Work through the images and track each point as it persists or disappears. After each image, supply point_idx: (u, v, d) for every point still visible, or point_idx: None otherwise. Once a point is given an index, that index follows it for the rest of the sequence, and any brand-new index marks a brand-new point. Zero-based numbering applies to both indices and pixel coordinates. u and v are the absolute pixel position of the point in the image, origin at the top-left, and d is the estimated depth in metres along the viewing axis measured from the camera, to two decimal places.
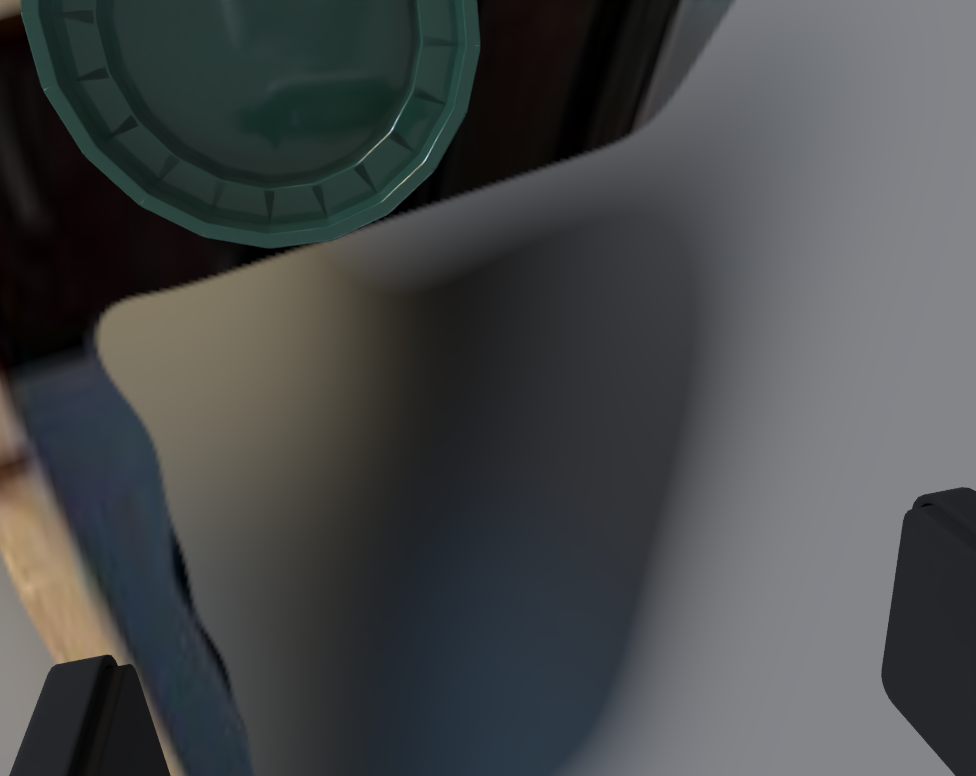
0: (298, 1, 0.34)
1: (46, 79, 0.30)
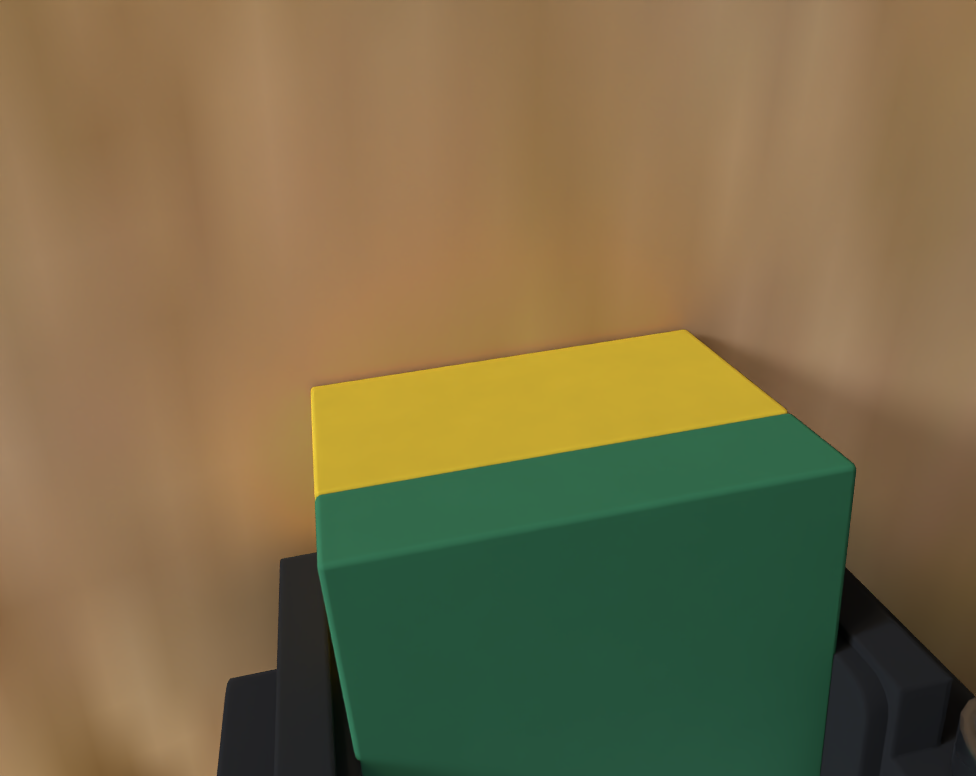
0: None
1: None
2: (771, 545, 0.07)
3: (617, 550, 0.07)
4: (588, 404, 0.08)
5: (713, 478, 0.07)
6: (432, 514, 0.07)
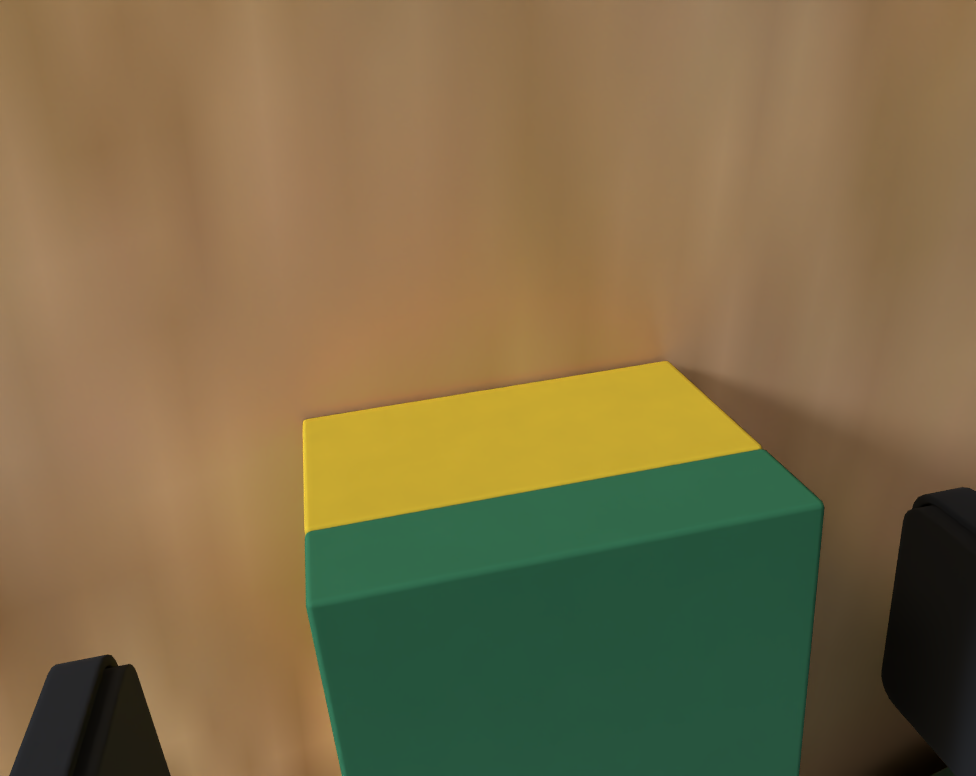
0: None
1: None
2: (744, 580, 0.07)
3: (594, 586, 0.07)
4: (570, 439, 0.09)
5: (686, 515, 0.07)
6: (416, 552, 0.07)
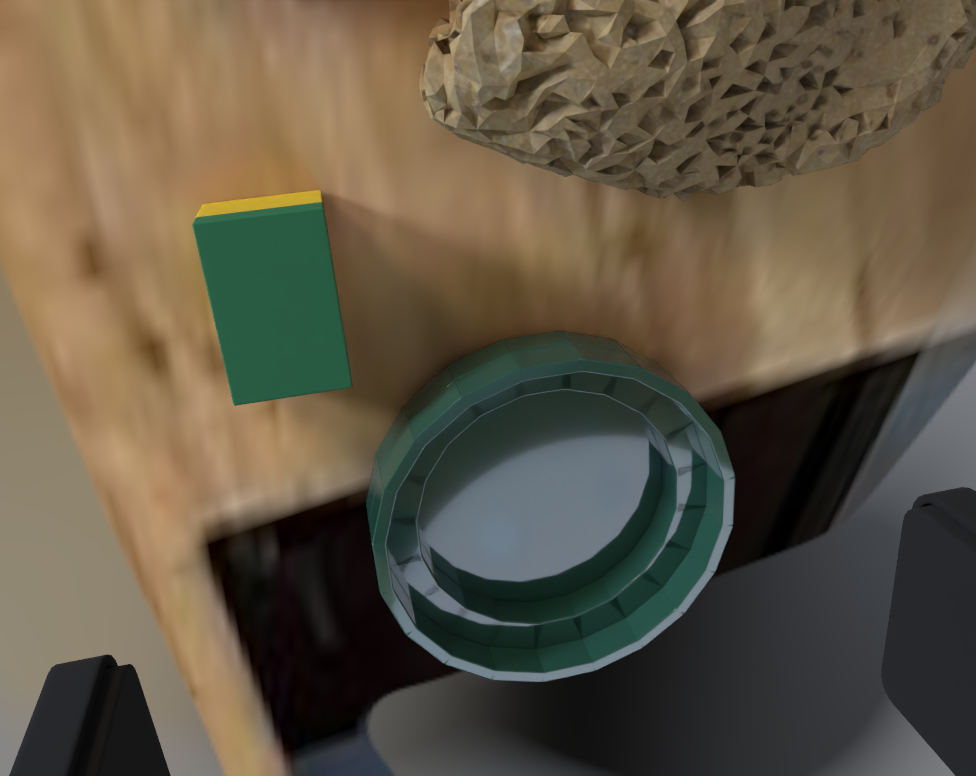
0: (569, 473, 0.40)
1: (385, 587, 0.36)
2: (304, 228, 0.30)
3: (264, 225, 0.30)
4: (274, 202, 0.31)
5: (288, 210, 0.30)
6: (221, 217, 0.30)
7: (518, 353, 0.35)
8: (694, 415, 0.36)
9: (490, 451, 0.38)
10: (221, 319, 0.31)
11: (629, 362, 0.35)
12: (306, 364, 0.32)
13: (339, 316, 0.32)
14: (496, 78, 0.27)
